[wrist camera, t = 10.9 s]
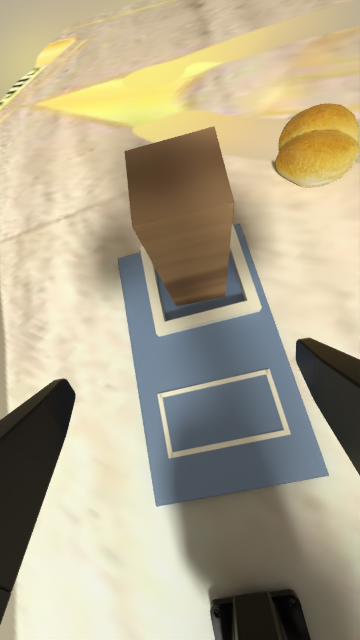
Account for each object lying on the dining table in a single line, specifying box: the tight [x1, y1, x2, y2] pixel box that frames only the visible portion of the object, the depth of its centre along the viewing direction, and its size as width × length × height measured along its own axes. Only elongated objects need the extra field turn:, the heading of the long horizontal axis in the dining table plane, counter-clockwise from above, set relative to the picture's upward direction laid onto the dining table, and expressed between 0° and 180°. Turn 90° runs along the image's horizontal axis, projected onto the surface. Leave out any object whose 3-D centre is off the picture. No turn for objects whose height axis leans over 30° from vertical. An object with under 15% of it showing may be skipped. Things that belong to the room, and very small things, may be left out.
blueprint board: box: [118, 222, 329, 506], centre depth 21 cm, size 24×14×2 cm, turn 12°
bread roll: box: [276, 104, 360, 188], centre depth 24 cm, size 8×9×4 cm
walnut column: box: [125, 127, 234, 306], centre depth 18 cm, size 5×5×12 cm
